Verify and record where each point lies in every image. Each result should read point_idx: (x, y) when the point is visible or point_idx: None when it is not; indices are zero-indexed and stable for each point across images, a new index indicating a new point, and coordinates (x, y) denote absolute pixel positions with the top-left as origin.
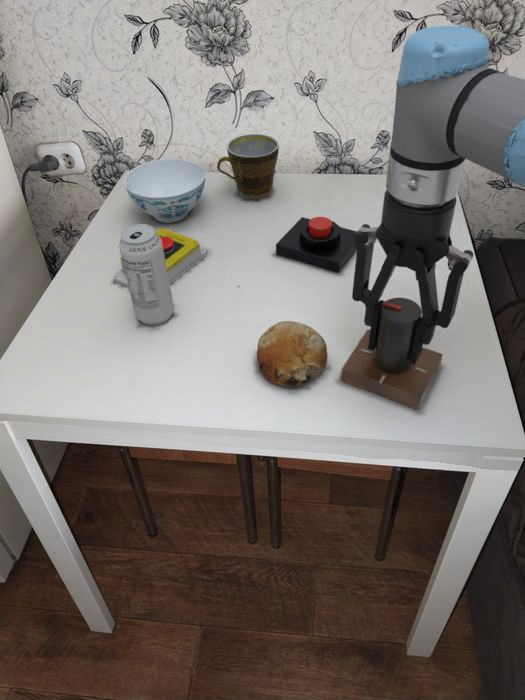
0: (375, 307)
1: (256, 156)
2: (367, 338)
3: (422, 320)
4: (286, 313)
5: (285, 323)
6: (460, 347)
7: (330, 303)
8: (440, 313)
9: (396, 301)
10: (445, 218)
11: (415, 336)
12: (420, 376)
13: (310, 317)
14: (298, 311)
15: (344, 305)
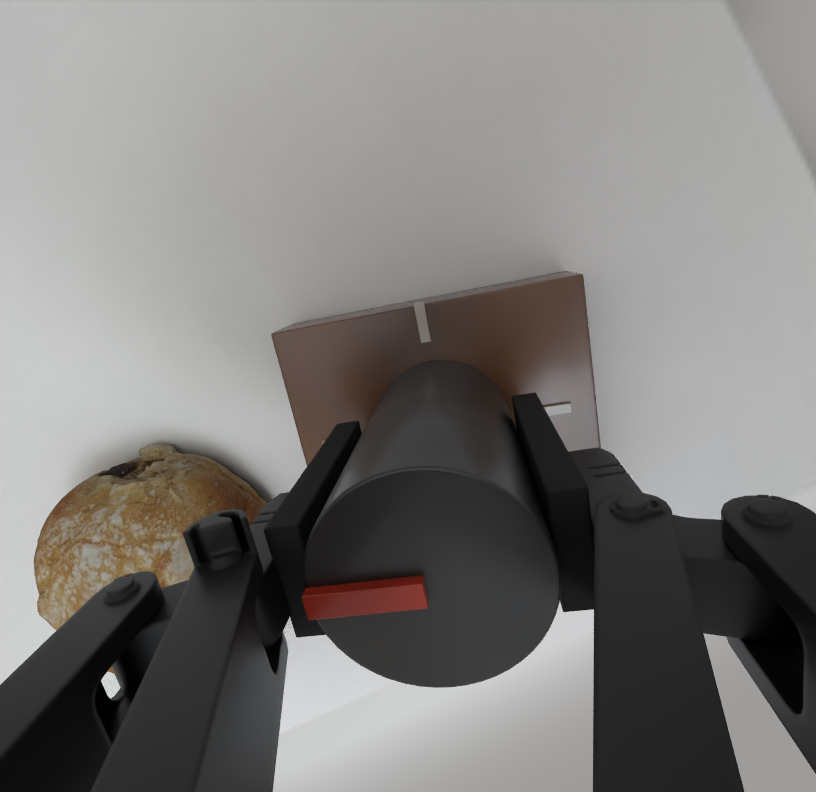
0: (287, 606)
1: None
2: (302, 380)
3: (574, 556)
4: (8, 370)
5: (55, 591)
6: (592, 111)
7: (61, 222)
8: (720, 591)
9: (358, 533)
10: None
11: None
12: (562, 434)
13: (74, 336)
14: (24, 336)
15: (104, 196)
